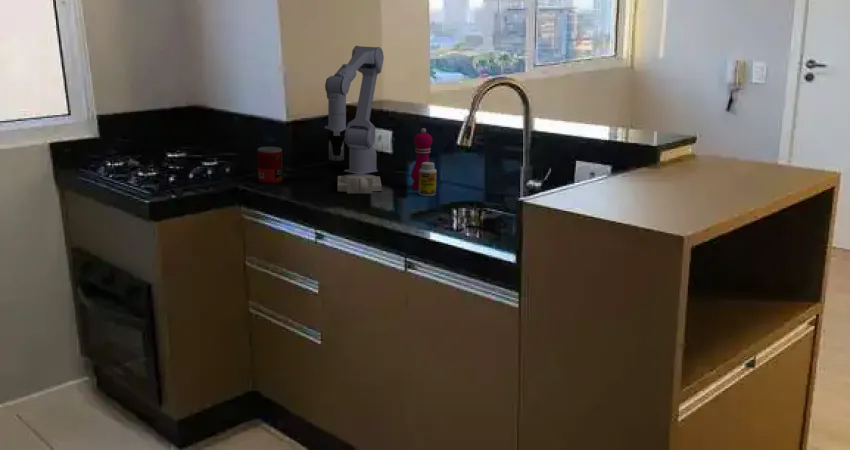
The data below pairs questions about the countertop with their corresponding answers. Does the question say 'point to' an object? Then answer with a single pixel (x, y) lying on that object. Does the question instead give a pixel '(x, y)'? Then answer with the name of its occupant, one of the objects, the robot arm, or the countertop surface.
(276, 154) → the canned food
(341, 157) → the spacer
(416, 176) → the pepper mill
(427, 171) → the supplement bottle
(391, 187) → the countertop surface
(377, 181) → the scale
